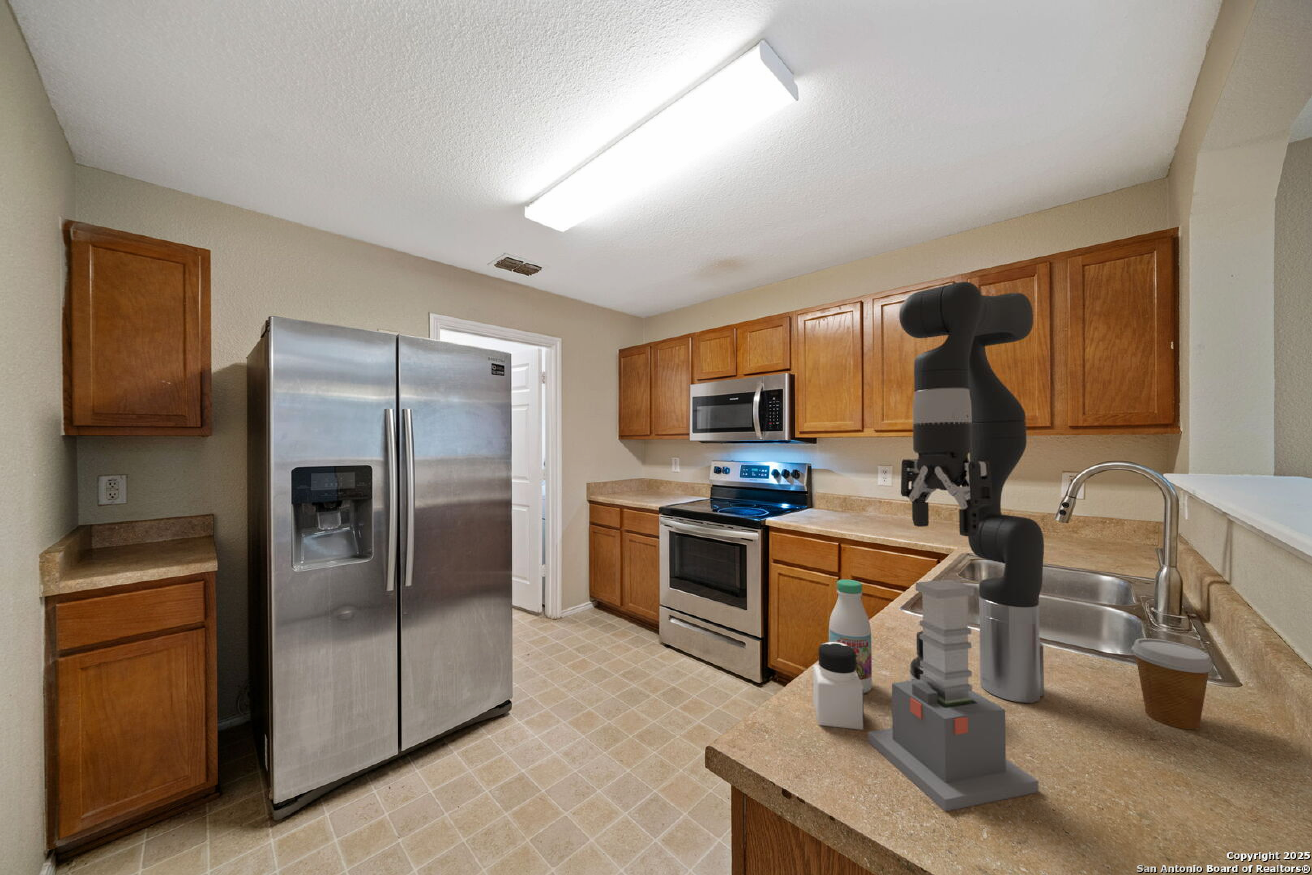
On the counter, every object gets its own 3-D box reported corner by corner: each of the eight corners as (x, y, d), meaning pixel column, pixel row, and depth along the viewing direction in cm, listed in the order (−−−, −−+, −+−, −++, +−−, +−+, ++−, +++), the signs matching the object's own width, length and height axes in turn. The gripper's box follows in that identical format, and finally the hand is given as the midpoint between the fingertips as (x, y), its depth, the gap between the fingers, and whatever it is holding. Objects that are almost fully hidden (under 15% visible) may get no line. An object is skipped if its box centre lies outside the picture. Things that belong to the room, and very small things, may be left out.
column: (950, 699, 74) (949, 579, 74) (977, 715, 69) (975, 587, 69) (915, 704, 72) (914, 581, 72) (940, 721, 68) (938, 590, 68)
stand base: (947, 728, 79) (946, 658, 80) (1038, 791, 65) (1037, 705, 65) (867, 741, 76) (867, 667, 76) (945, 811, 61) (944, 720, 62)
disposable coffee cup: (1193, 711, 85) (1192, 642, 85) (1229, 741, 76) (1227, 664, 76) (1122, 699, 89) (1121, 633, 89) (1148, 727, 80) (1147, 654, 80)
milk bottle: (822, 676, 98) (821, 577, 98) (859, 674, 98) (858, 576, 99) (840, 696, 90) (839, 588, 90) (879, 694, 90) (879, 587, 91)
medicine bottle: (864, 730, 79) (863, 656, 79) (818, 725, 80) (818, 653, 80) (855, 707, 86) (854, 639, 86) (813, 703, 87) (812, 636, 87)
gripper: (1006, 418, 66) (1008, 538, 65) (925, 423, 79) (927, 522, 79) (961, 418, 64) (963, 541, 64) (886, 423, 78) (887, 524, 77)
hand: (943, 530), depth 71 cm, fingers open, 8 cm apart
